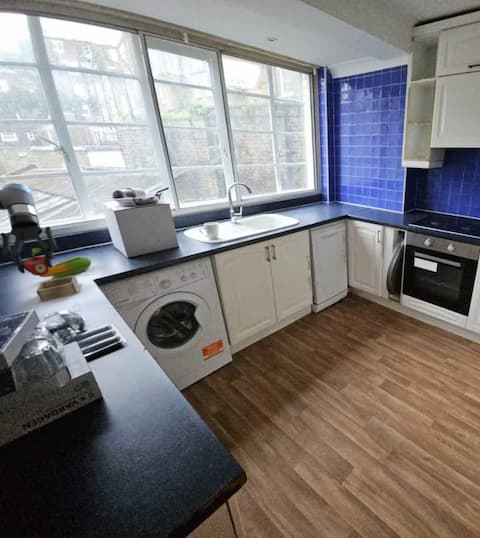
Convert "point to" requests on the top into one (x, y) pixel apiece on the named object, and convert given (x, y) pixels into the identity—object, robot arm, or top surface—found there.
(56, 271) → the corn
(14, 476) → the top surface
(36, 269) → the apple
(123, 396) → the top surface
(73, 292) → the wooden crate
